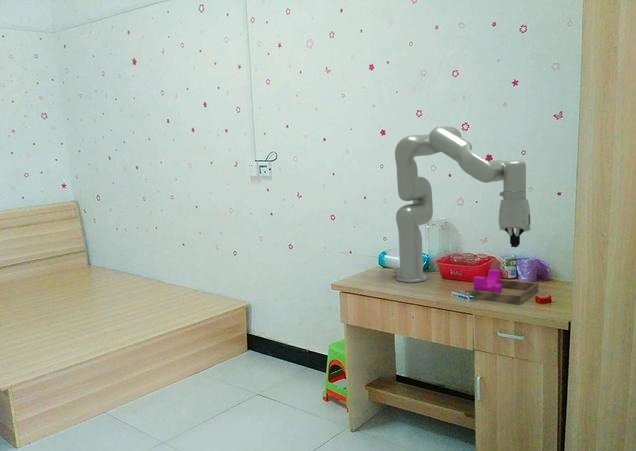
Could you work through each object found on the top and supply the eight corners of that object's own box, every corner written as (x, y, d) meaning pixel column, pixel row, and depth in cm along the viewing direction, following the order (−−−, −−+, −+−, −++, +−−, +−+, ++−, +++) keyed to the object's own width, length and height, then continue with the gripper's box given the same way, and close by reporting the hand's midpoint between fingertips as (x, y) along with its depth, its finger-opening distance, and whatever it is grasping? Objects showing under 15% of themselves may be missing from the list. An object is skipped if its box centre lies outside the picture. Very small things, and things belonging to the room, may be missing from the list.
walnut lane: (469, 297, 204) (469, 289, 203) (490, 285, 219) (490, 278, 219) (520, 305, 192) (520, 296, 192) (538, 291, 207) (538, 283, 207)
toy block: (489, 299, 201) (489, 279, 200) (473, 297, 205) (473, 277, 204) (506, 290, 212) (506, 271, 211) (490, 288, 216) (490, 269, 215)
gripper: (490, 196, 200) (490, 247, 202) (532, 197, 190) (532, 249, 193) (497, 194, 205) (498, 243, 208) (539, 194, 196) (539, 246, 199)
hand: (514, 246), depth 200 cm, fingers closed
